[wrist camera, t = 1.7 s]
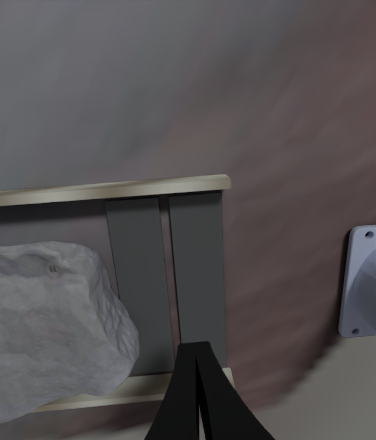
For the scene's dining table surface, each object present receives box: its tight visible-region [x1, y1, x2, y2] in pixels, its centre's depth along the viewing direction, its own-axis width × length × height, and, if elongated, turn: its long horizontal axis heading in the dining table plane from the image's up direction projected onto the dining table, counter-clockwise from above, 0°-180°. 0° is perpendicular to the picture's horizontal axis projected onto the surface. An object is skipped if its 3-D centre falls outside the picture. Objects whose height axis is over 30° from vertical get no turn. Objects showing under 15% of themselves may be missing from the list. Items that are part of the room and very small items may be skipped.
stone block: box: [0, 241, 139, 423], centre depth 16 cm, size 12×5×10 cm
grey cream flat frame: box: [0, 174, 235, 413], centre depth 17 cm, size 24×14×2 cm, turn 94°
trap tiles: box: [104, 192, 227, 375], centre depth 18 cm, size 7×12×1 cm, turn 4°
